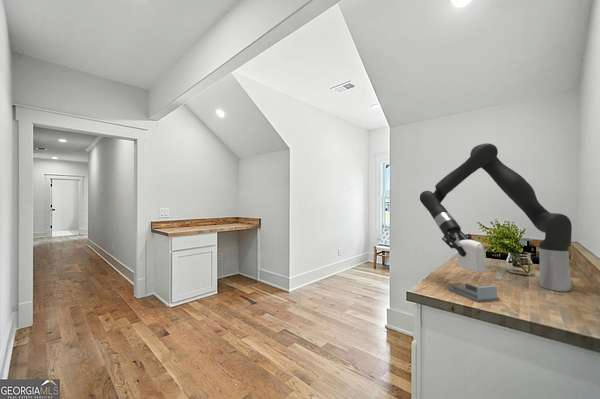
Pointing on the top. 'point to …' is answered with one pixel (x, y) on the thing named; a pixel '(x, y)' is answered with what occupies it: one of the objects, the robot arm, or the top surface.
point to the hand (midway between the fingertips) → (469, 255)
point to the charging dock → (477, 292)
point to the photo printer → (472, 256)
